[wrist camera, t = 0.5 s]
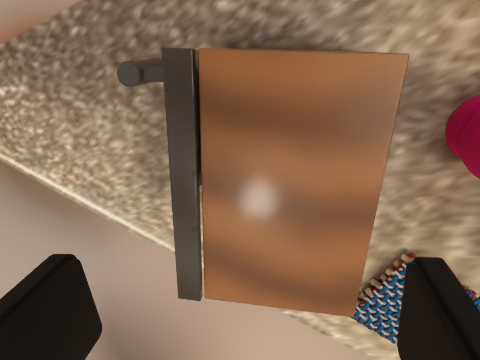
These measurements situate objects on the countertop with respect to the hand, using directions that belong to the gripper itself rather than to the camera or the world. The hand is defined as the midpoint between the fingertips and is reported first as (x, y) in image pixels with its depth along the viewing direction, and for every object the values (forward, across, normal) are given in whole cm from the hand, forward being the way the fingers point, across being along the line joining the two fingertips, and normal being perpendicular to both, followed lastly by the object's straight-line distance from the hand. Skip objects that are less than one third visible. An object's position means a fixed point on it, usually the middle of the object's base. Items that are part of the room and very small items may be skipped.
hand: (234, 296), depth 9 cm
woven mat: (+24, -14, +22) cm, 35 cm away
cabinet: (+24, -1, +2) cm, 24 cm away
